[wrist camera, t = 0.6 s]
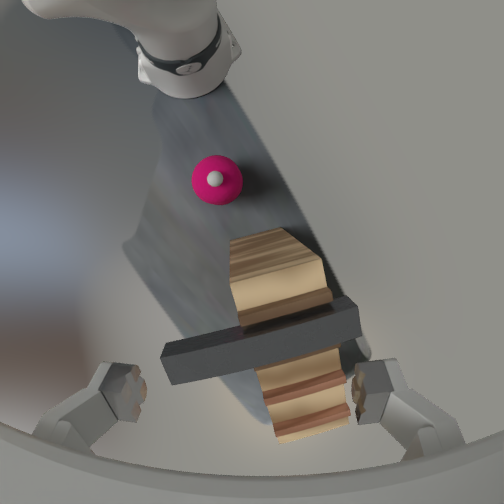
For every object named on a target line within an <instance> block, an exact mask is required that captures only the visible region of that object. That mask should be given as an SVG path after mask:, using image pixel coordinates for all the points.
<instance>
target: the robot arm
mask: <svg viewBox="0 0 504 504" xmlns="http://www.w3.org/2000/svg"><path fill="white" fill-rule="evenodd" d="M22 1H23V3H24V5H25V6H26V7H27V8H28V9H29V10H30V11H31V12H33V13H34V14H36V15H38V16H40V17H42V18H45V19H54V18H63V17H89V18H95V19H100V20H104V21H108V22H112V23H115V24H118V25H121V26H123V27H126V28H128V29H129V30H130V31H131V32H132V33H133V34H134V35H135V38H136V41H138V44H139V47H137V54H139V65H138V78H139V80H140V81H141V82H142V83H145V84H150V85H154V86H156V87H157V88H158V89H159V90H161V91H162V92H164V93H165V94H167V95H169V96H172V97H176V98H184V99H187V98H195V97H199V96H202V95H205V94H207V93H209V92H210V91H212V90H213V89H215V88H216V87H217V86H218V85H219V84H220V83H221V82H222V81H223V80H224V78H225V77H226V75H227V72H228V70H229V68H230V66H231V64H232V63H233V62H234V61H235V60H236V59H237V58H238V57H239V56H240V55H241V48H240V46H239V44H238V43H237V41H236V39H235V37H234V36H233V34H232V32H231V31H230V29H229V28H228V26H227V24H226V22H225V21H224V19H223V17H222V16H221V14H220V12H219V11H218V9H217V5H216V0H22ZM232 45H233V46H234V47H232ZM143 71H144V72H143ZM354 371H355V375H356V376H355V377H354V378H353V379H352V390H351V391H352V399H353V402H354V403H355V404H356V410H355V413H356V418H357V422H358V425H362V424H371V423H378V422H380V424H381V425H382V426H383V427H384V428H385V429H386V430H387V431H388V432H389V433H390V434H391V435H392V436H393V437H394V438H395V439H396V440H397V441H398V442H399V443H400V444H401V445H402V446H403V447H404V448H405V449H406V450H407V451H406V453H405V455H404V456H403V458H402V459H401V461H400V462H397V463H393V464H387V465H382V466H376V467H370V468H365V469H357V470H350V471H342V472H333V473H323V474H310V475H293V476H232V475H215V474H214V475H213V474H202V473H191V472H182V471H175V470H167V469H161V468H154V467H148V466H142V465H137V464H132V463H127V462H122V461H118V460H113V459H109V458H104V457H101V456H97V455H95V453H94V452H93V451H92V450H91V449H90V446H91V445H92V444H93V443H95V442H96V441H97V440H98V439H99V438H100V437H101V436H102V435H103V434H104V433H106V432H107V431H108V430H109V429H110V428H111V427H112V426H113V425H114V424H116V423H117V422H118V420H120V421H128V422H135V423H136V422H137V420H138V417H139V415H140V412H141V409H140V406H139V405H140V404H142V403H143V402H144V401H145V398H146V393H147V387H146V383H145V380H144V379H143V378H142V377H141V376H139V375H140V373H141V371H140V369H139V367H138V366H137V365H133V364H124V363H116V362H107V361H103V362H102V363H101V364H100V365H99V367H98V369H97V371H96V373H95V374H94V376H93V378H92V380H91V382H90V384H89V385H88V387H87V389H85V388H83V389H82V390H80V391H79V392H77V393H76V394H74V395H72V396H71V397H69V398H68V399H66V400H65V401H63V402H61V403H60V404H58V405H57V406H55V407H53V408H52V409H50V410H49V411H47V412H45V413H44V414H43V416H42V417H41V419H40V421H39V422H38V424H37V426H36V428H35V430H34V431H33V433H32V435H31V434H28V433H26V432H23V431H21V430H18V429H16V428H13V427H11V426H9V425H6V424H4V423H2V422H0V504H504V430H503V431H500V432H498V433H495V434H493V435H490V436H487V437H485V438H482V439H479V440H476V441H474V442H471V443H468V444H465V441H464V438H463V436H462V433H461V431H460V428H459V426H458V424H457V421H456V419H455V418H453V417H452V416H451V415H449V414H448V413H446V412H445V411H443V410H442V409H440V408H439V407H438V406H436V405H435V404H433V403H432V402H430V401H429V400H428V399H426V398H425V397H423V396H422V395H421V394H419V393H418V392H416V391H415V390H413V389H408V386H407V384H406V381H405V379H404V376H403V374H402V371H401V369H400V366H399V364H398V361H397V359H396V358H391V359H383V360H375V361H367V362H359V363H356V365H355V369H354Z"/></svg>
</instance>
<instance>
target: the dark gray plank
mask: <svg viewBox="0 0 504 504" xmlns="http://www.w3.org/2000/svg"><path fill="white" fill-rule="evenodd" d="M360 336H362V333H361V325H360V318H359V311H358V306H357V305H356V304H355V303H354V302H353V301H352V300H351V299H350V298H349V297H348V296H343V297H339V298H336V299H333V301H331V302H328V303H325V304H322V305H318V306H315V307H311V308H308V309H305V310H301V311H298V312H294V313H291V314H287V315H283V316H280V317H276V318H273V319H269V320H265V321H261V322H258V323H254V324H250V325H246V326H242V327H241V325H240V326H236V327H232V328H228V329H224V330H220V331H216V332H212V333H207V334H203V335H199V336H195V337H190V338H186V339H181V340H177V341H173V342H168V343H166V344H165V347H164V349H163V351H162V354H161V357H160V359H161V362H162V364H163V367H164V369H165V371H166V373H167V376H168V378H169V380H170V382H171V384H172V385H177V384H182V383H188V382H192V381H197V380H202V379H207V378H212V377H217V376H221V375H226V374H230V373H235V372H239V371H243V370H247V369H251V368H255V367H259V366H263V365H267V364H271V363H275V362H279V361H282V360H286V359H289V358H293V357H297V356H300V355H303V354H307V353H310V352H314V351H317V350H320V349H323V348H327V347H330V346H333V345H336V344H339V343H342V342H345V341H348V340H351V339H354V338H357V337H360Z"/></svg>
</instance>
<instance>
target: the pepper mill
mask: <svg viewBox="0 0 504 504" xmlns="http://www.w3.org/2000/svg"><path fill="white" fill-rule="evenodd" d="M192 186H193V189H194V191H195V193H196V194H197V196H198V197H199V198H200V199H201V200H203V201H205V202H207V203H210V204H215V205H224V204H228V203H230V202H232V201H233V200H235V199H236V198H237V197H238V195H239V194H240V192H241V190H242V186H243V178H242V174H241V172H240V170H239V168H238V167H237V165H236V164H235V163H234V162H233V161H232V160H231V159H229V158H227V157H224V156H220V155H214V156H209V157H207V158H205V159H203V160H202V161H200V162H199V163H198V164H197V166H196V167H195V169H194V171H193V174H192Z"/></svg>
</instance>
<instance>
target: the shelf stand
mask: <svg viewBox="0 0 504 504" xmlns="http://www.w3.org/2000/svg"><path fill="white" fill-rule="evenodd" d="M230 287H231V290H232V293H233V297H234V300H235V304H236V307H237V310H238V318H239V322H240V325H241V327H242V326H246V325H250V324H254V323H258V322H261V321H265V320H269V319H273V318H276V317H280V316H283V315H287V314H291V313H294V312H298V311H301V310H305V309H308V308H311V307H315V306H318V305H322V304H325V303H328V302H331V301H333V296H332V291H331V290H330V289H329V288H328V287H327V284H326V278H325V273H324V269H323V264H322V259H321V258H320V257H319V256H317V255H316V254H315V253H314V252H312V251H311V250H310V249H308V248H307V247H306V246H304V245H303V244H302V243H301V242H299V241H298V240H297V239H295V238H294V237H293V236H291V235H290V234H289V233H288V232H286V231H285V230H284V229H282V228H281V227H279V228H275V229H272V230H268V231H264V232H260V233H256V234H253V235H249V236H245V237H241V238H238V239H234V240H230ZM339 347H341V343H339V344H336V345H333V346H330V347H327V348H323V349H320V350H317V351H314V352H310V353H307V354H303V355H300V356H297V357H293V358H289V359H286V360H282V361H279V362H275V363H271V364H267V365H263V366H259V367H255V368H254V370H255V371H256V373H257V376H258V379H259V382H260V385H261V388H262V392H263V398H264V402H265V405H266V406H267V407H268V410H269V413H270V416H271V419H272V423H273V427H274V432H275V435H276V437H277V438H278V441H279V444H282V443H286V442H290V441H294V440H298V439H301V438H305V437H308V436H312V435H315V434H319V433H322V432H325V431H329V430H332V429H335V428H338V427H341V426H344V425H347V424H349V421H348V416H350V415H351V413H350V409H349V407H348V405H347V403H346V397H345V391H344V383H346V376H345V374H344V372H343V371H342V369H341V363H340V357H339V350H338V348H339Z"/></svg>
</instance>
